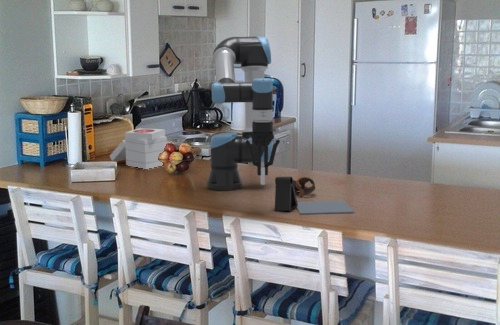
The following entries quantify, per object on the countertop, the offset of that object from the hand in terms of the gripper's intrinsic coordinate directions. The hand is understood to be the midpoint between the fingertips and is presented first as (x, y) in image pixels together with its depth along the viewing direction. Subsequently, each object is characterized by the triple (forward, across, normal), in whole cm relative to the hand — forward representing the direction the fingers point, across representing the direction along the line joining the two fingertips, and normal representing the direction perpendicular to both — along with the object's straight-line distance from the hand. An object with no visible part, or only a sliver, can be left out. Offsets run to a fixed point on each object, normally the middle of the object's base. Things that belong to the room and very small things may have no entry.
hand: (262, 183), depth 233 cm
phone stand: (+10, +9, 0) cm, 13 cm away
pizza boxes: (+10, -55, +93) cm, 109 cm away
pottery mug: (+10, +18, +22) cm, 31 cm away
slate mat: (+10, +23, 0) cm, 25 cm away
